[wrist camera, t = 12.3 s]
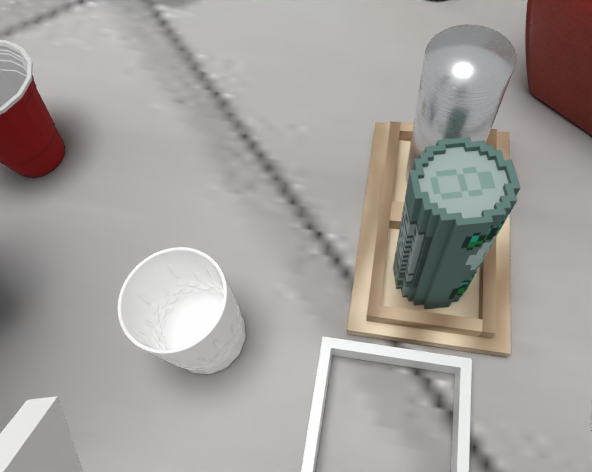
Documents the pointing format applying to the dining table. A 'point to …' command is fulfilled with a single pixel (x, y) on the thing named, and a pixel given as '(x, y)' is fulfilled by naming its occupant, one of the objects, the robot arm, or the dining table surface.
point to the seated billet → (460, 86)
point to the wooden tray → (380, 258)
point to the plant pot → (561, 57)
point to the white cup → (182, 311)
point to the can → (451, 218)
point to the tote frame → (401, 358)
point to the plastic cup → (25, 118)
